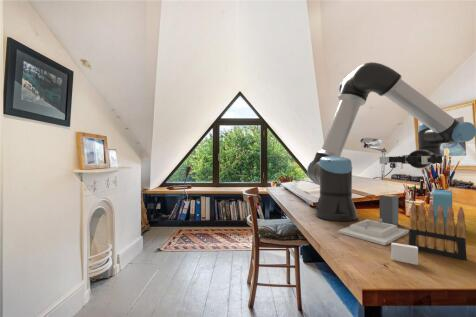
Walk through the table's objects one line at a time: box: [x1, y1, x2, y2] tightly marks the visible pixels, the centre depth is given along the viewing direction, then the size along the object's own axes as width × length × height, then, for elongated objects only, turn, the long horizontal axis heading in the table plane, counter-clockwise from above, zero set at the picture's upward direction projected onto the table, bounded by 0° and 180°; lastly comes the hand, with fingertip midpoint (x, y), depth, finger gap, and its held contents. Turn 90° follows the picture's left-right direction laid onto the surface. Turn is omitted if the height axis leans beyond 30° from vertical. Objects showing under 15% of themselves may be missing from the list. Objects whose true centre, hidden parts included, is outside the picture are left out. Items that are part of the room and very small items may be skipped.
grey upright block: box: [379, 193, 399, 226], centre depth 81 cm, size 4×5×10 cm
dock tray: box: [338, 217, 409, 246], centre depth 72 cm, size 13×17×4 cm
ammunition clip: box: [408, 201, 468, 262], centre depth 57 cm, size 11×2×12 cm, turn 47°
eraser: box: [390, 241, 419, 265], centre depth 53 cm, size 1×5×4 cm, turn 58°
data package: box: [432, 189, 453, 233], centre depth 76 cm, size 12×4×12 cm, turn 138°
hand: (400, 160), depth 86 cm, fingers open, 13 cm apart
